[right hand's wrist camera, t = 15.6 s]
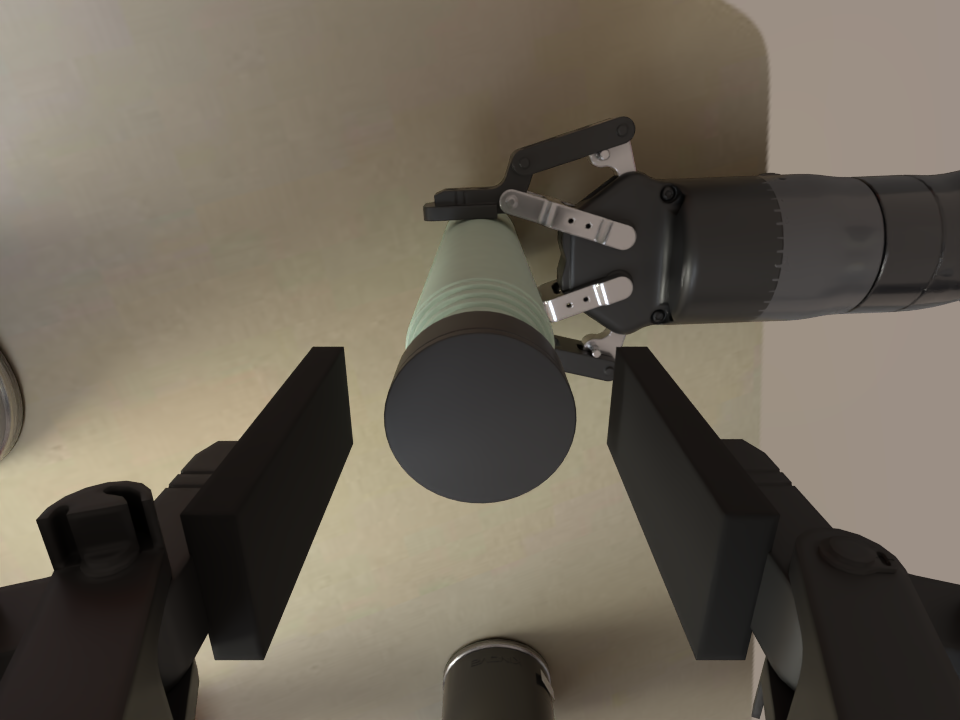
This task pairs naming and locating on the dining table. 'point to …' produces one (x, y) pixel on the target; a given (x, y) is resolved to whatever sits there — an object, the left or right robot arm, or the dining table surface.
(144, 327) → the dining table surface
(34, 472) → the dining table surface
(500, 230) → the bottle
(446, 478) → the cap
